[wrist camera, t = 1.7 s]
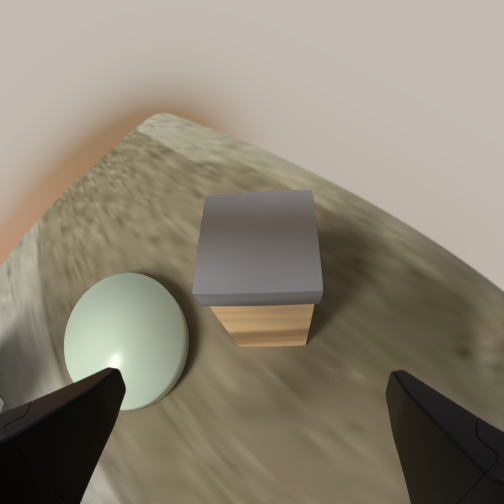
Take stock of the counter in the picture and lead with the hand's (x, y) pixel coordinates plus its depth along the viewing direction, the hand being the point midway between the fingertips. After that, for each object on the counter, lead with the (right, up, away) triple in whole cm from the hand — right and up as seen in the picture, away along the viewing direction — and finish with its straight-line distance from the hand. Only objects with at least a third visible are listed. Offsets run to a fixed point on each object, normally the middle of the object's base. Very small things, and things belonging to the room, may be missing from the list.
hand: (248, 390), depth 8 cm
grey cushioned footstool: (+2, -1, +14) cm, 14 cm away
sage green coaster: (-11, -4, +14) cm, 18 cm away
